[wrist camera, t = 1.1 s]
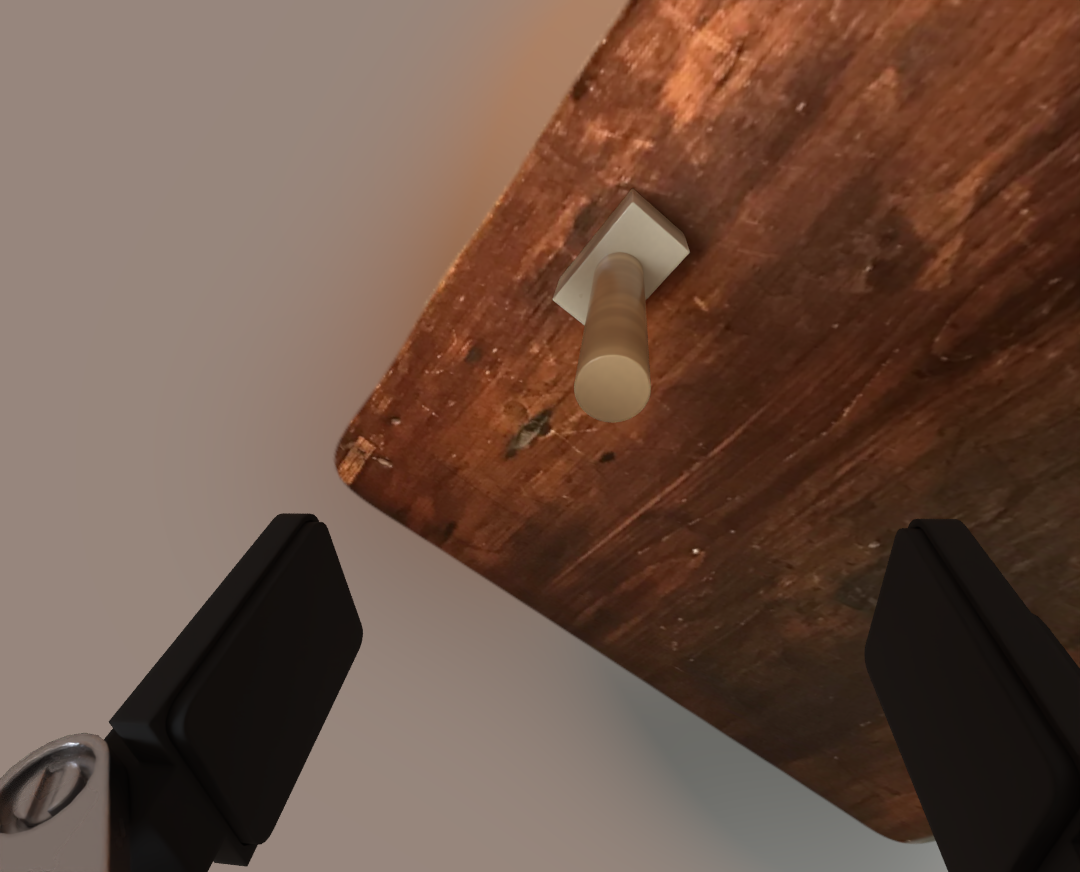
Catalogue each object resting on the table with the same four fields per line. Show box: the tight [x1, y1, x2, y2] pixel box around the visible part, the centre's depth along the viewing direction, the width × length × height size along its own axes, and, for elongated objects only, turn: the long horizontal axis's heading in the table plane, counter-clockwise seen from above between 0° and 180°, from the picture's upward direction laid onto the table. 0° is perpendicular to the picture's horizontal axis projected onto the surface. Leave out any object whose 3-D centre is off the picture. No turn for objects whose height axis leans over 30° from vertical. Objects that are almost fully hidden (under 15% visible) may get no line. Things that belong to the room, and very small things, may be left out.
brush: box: [553, 189, 690, 422], centre depth 21 cm, size 5×3×13 cm, turn 143°
